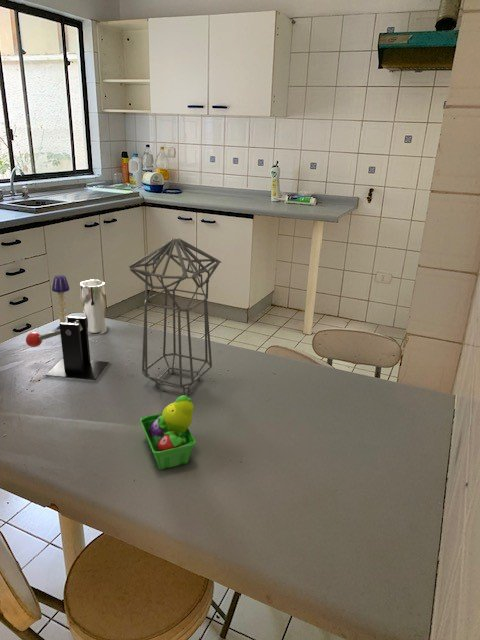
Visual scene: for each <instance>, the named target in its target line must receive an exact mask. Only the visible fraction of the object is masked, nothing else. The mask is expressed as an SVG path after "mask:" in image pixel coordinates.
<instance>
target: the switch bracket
mask: <svg viewBox="0 0 480 640" xmlns="http://www.w3.org/2000/svg"><path fill="white" fill-rule="evenodd" d="M77 320H79V321H80V323H81V325H82V327H83V329H82V330H81V331H80V324H75V323H70V322H73V321H77ZM58 326H60V342H61V349H62V351H61V352H62V358H60V359H59V361H58V362H57V363H56V364H55V365H54V366H52V368H51V369H50V370H49V371H47V373H46V374H45V375H44V376H45V377H53V378H54V377H55V378H66V379H76V380H87V381H88V380H89V381H96V380H97V378H98V377H99V376H100V375H101V373H102V372H103V371H104V370H105V369H106V367H107V366H108V365H109V363H110V362H109V361H105V360H104V361H101V360H92V359H91V353H90V352H91V351H90V340H89V339H90V338H89V334H88V327H87V317H85V316H75V315H73V316H72V315H68V316H66V323H62V322H61V323H60V322H59V324H58Z"/></svg>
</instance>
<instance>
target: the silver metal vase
mask: <svg viewBox="0 0 480 640" xmlns="http://www.w3.org/2000/svg"><path fill="white" fill-rule="evenodd" d="M79 287H80V289H79V294H80V295H79V296H80V304H81V308H82V311H83V315H84V317H87V327H88V335H93V336H100V335H103V334H106V332H107V331H108V328H107V325H106V312H107V311H106V310H107V292H106V285H105V282H104V280H100V279H87V280H84V281H81V282H80V283H79Z"/></svg>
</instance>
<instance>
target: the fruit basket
mask: <svg viewBox="0 0 480 640" xmlns="http://www.w3.org/2000/svg"><path fill="white" fill-rule="evenodd" d="M185 395H186V394H185ZM185 395H184V394H181V395H179V396H178V397H177V398H176V399H175V401H173V402H171V403H169V404H168V405H166V406H165V407H164V409H163V411H162V413H157V414H152V415H147V416H143V417H141V418H140V419H139V421H140V424H141V427H142V429H143V431H144V434H145V437H146V441H147V443H148V445H149V447H150V450H151V452H152V454H153V457H154V459H155V462H156V464H157V467H158V469H159V470H164V469H166V468H172V467H176V466H180V465H183V464H188V463H189V460H190V458H191V457H190V456H191V454H192V451H193V448H194V446H195V444H196V439H195V438H194V436H193V435H192V433H191V431H190V429H189V428H190V426H191V424H192V421H193V413H194V409H195V406H194V404H193V402H192V399H191V398H190V397H188V395H186V396H185Z"/></svg>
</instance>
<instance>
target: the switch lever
mask: <svg viewBox="0 0 480 640" xmlns="http://www.w3.org/2000/svg"><path fill="white" fill-rule="evenodd" d="M70 323H75V324H80V331H81V330H82V329H83V327H82V325H81V323H80V321H79V320H77V321H73V322H70ZM57 336H61V334H60V329H59V330H56V329H55V330H53V331H50V332H46V333H43V334H40V333H39V332H36V331H32V332H30V333H28V334H27V335H26V336H25V344H26V345H27V346H28V347H31V348H37V347H39V346H40V345H41V344H42V343H43V340H47V339H50V338H53V337H57Z"/></svg>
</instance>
